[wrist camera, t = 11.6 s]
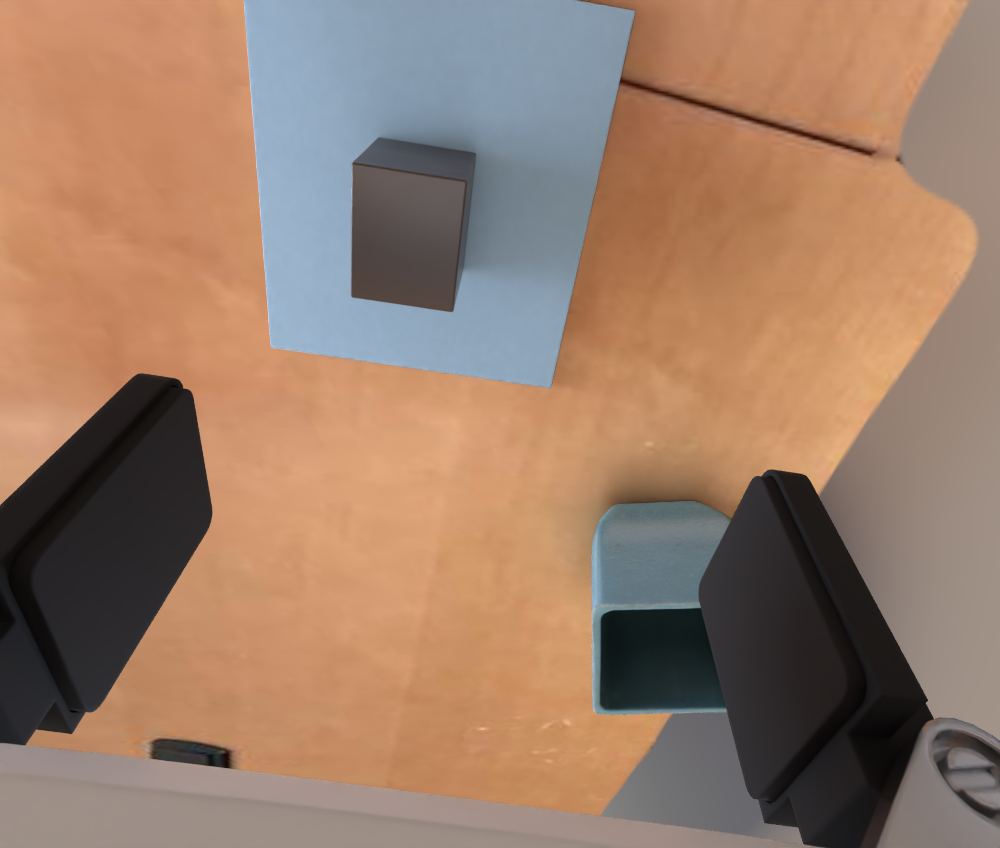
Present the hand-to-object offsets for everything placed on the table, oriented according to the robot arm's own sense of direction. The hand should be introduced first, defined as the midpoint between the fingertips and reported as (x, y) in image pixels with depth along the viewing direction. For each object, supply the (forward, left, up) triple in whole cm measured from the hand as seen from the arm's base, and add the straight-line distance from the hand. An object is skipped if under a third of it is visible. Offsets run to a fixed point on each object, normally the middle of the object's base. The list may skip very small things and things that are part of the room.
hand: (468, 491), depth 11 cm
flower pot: (+18, +12, -19) cm, 29 cm away
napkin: (+1, -3, -19) cm, 19 cm away
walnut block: (+1, -3, -19) cm, 19 cm away
